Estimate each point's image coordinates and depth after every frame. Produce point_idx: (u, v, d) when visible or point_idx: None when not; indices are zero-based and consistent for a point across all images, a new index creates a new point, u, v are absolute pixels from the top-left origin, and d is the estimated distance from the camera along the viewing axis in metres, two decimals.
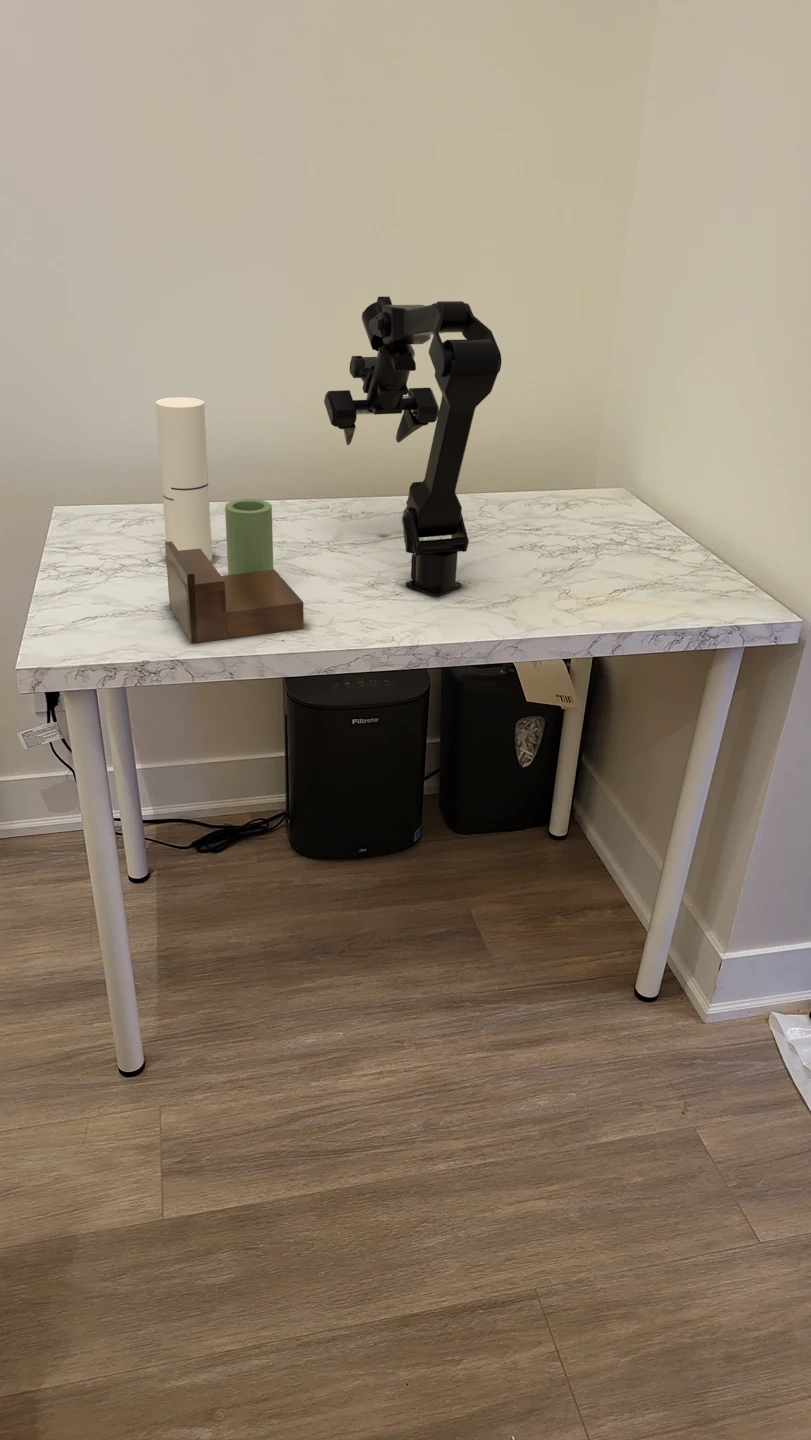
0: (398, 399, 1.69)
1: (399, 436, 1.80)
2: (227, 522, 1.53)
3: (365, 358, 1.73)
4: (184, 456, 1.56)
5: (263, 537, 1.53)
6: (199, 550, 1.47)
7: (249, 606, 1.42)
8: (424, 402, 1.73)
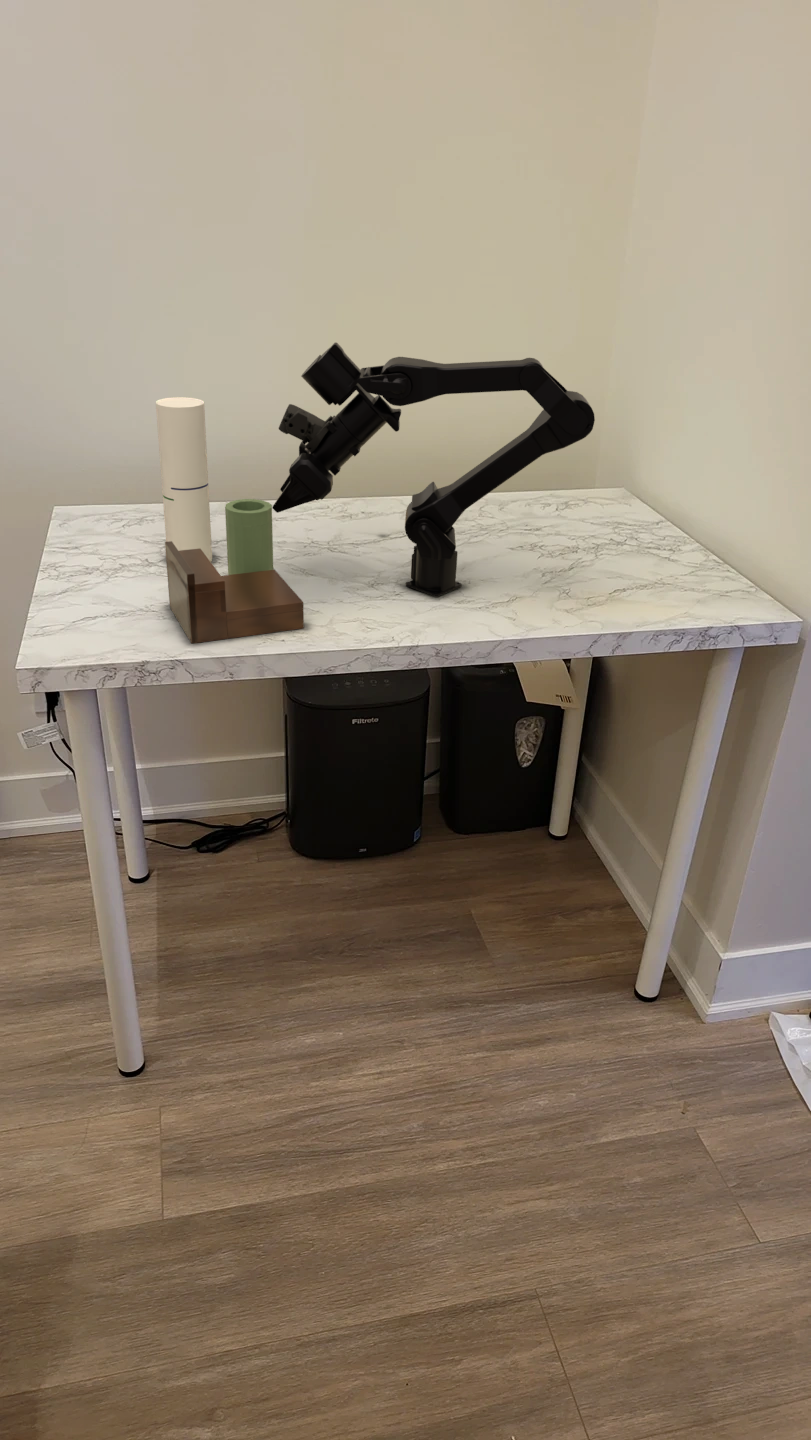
0: None
1: None
2: (227, 522, 1.53)
3: (290, 410, 1.47)
4: (184, 456, 1.56)
5: (263, 537, 1.53)
6: (199, 550, 1.47)
7: (249, 606, 1.42)
8: None
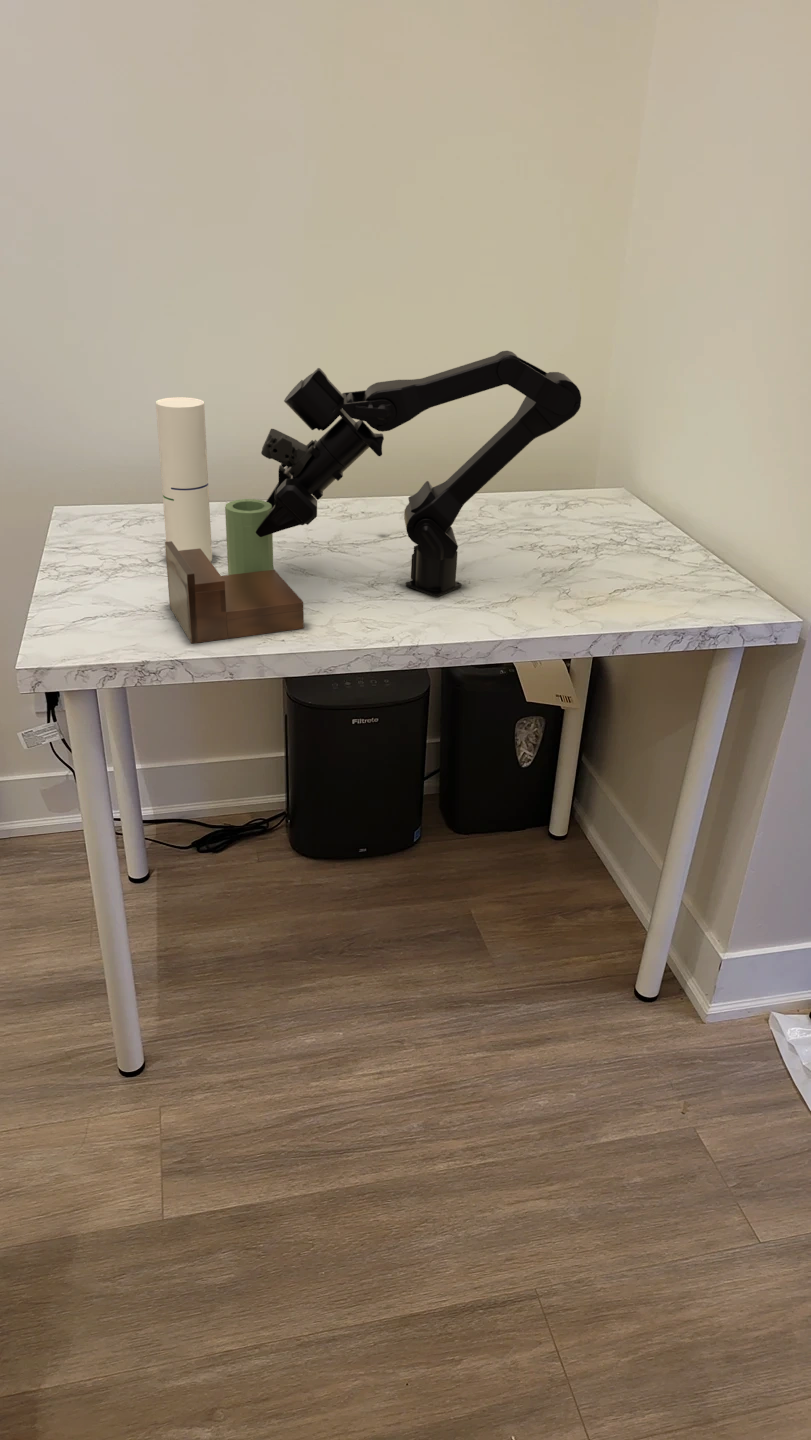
0: None
1: None
2: (227, 522, 1.53)
3: (274, 435, 1.47)
4: (184, 456, 1.56)
5: (263, 537, 1.53)
6: (199, 550, 1.47)
7: (249, 606, 1.42)
8: None
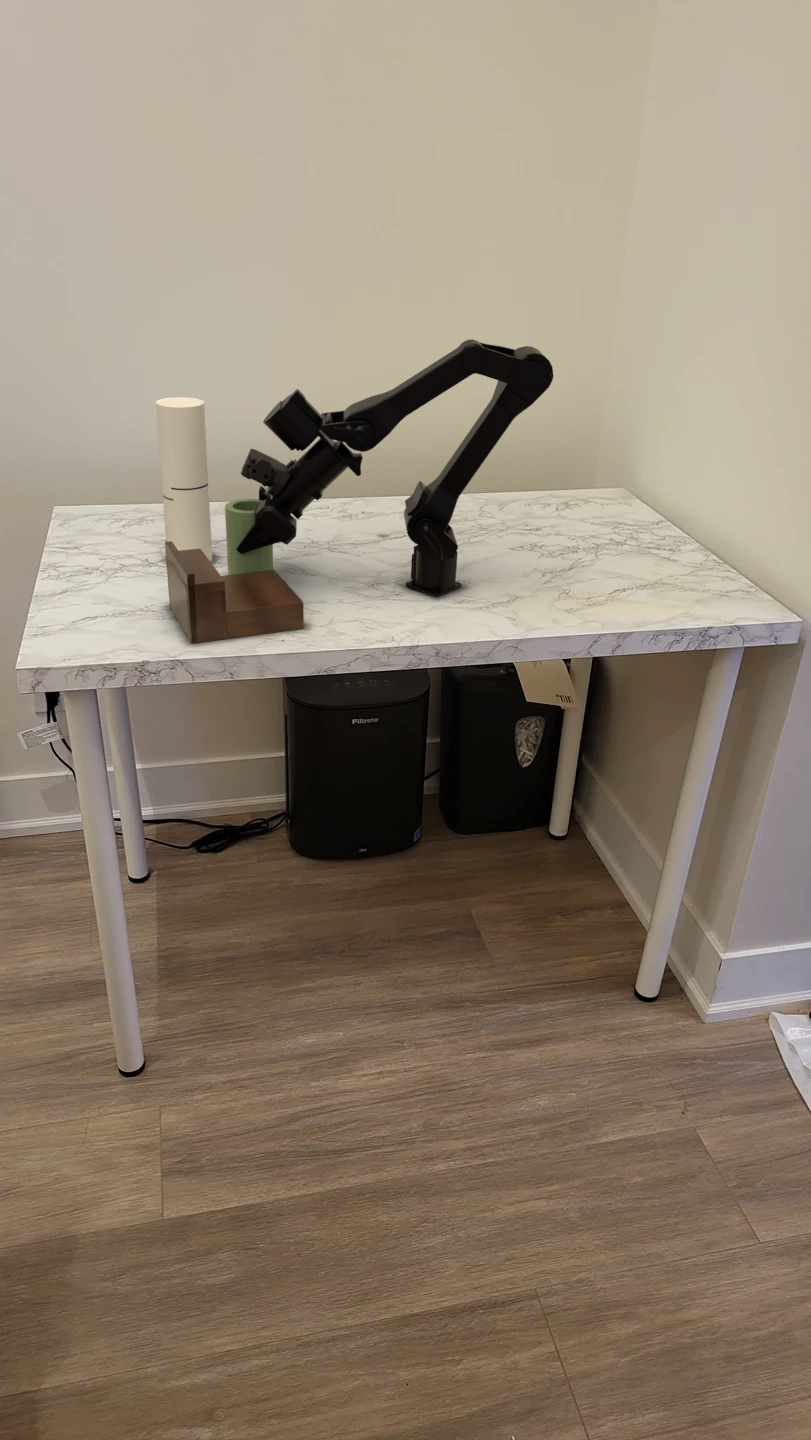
0: None
1: None
2: (227, 522, 1.53)
3: (253, 456, 1.48)
4: (184, 456, 1.56)
5: None
6: (199, 550, 1.47)
7: (249, 606, 1.42)
8: None
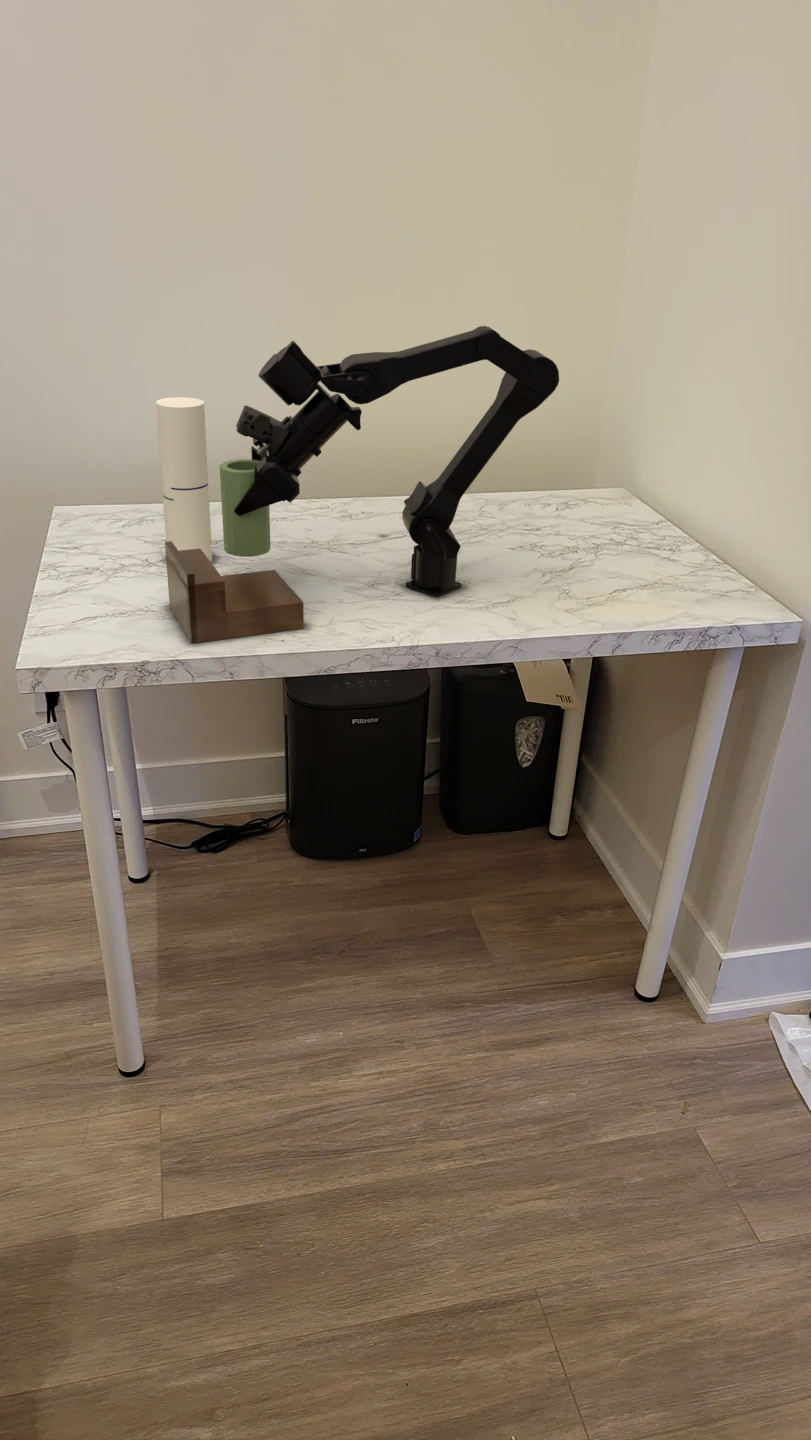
0: None
1: None
2: (222, 483, 1.47)
3: (249, 412, 1.43)
4: (184, 456, 1.56)
5: None
6: (199, 550, 1.47)
7: (249, 606, 1.42)
8: None
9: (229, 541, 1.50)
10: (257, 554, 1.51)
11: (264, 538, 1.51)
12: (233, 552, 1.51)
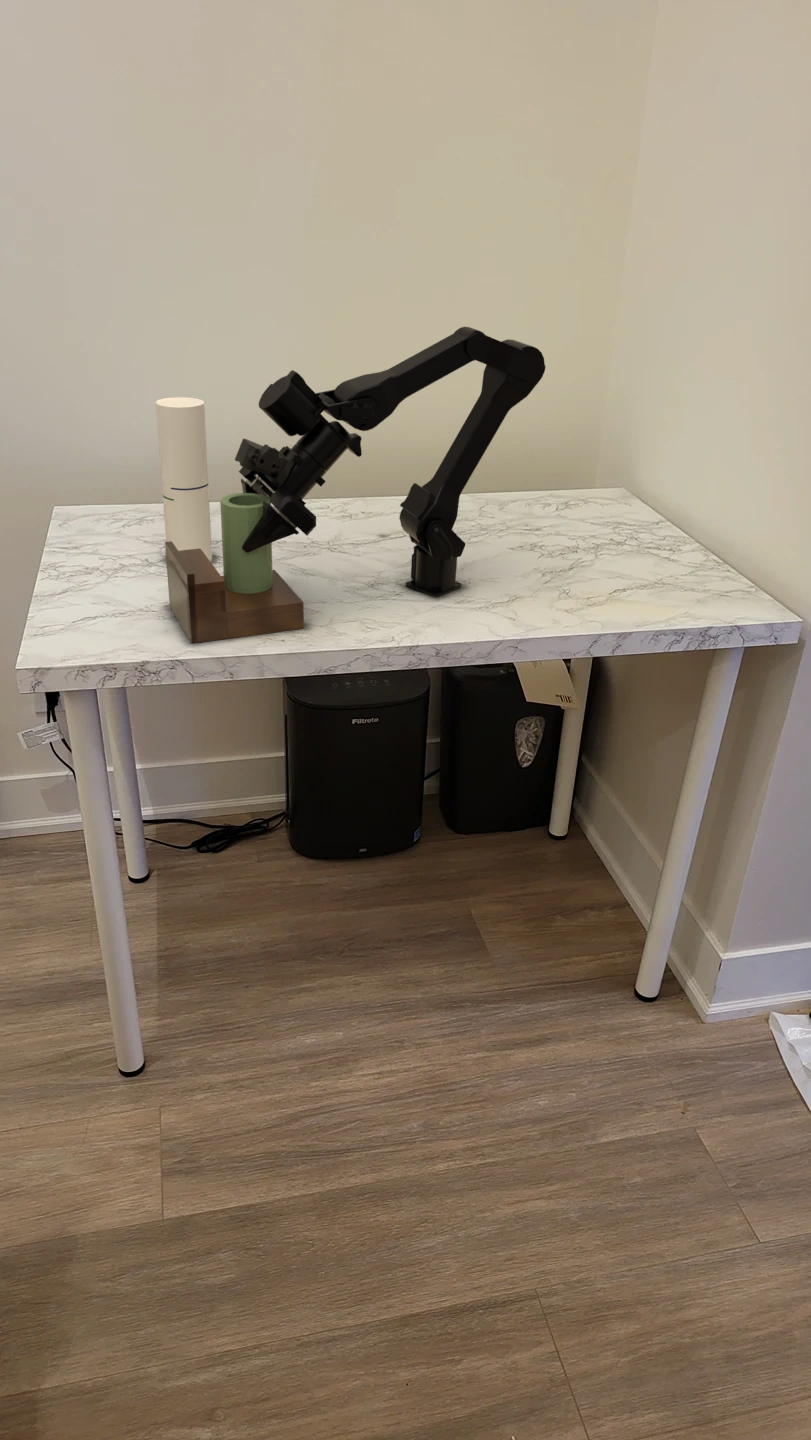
0: None
1: None
2: (227, 520, 1.41)
3: (253, 445, 1.38)
4: (184, 456, 1.56)
5: None
6: (199, 550, 1.47)
7: (249, 606, 1.42)
8: None
9: (234, 579, 1.45)
10: (264, 590, 1.47)
11: (269, 573, 1.47)
12: (239, 590, 1.45)
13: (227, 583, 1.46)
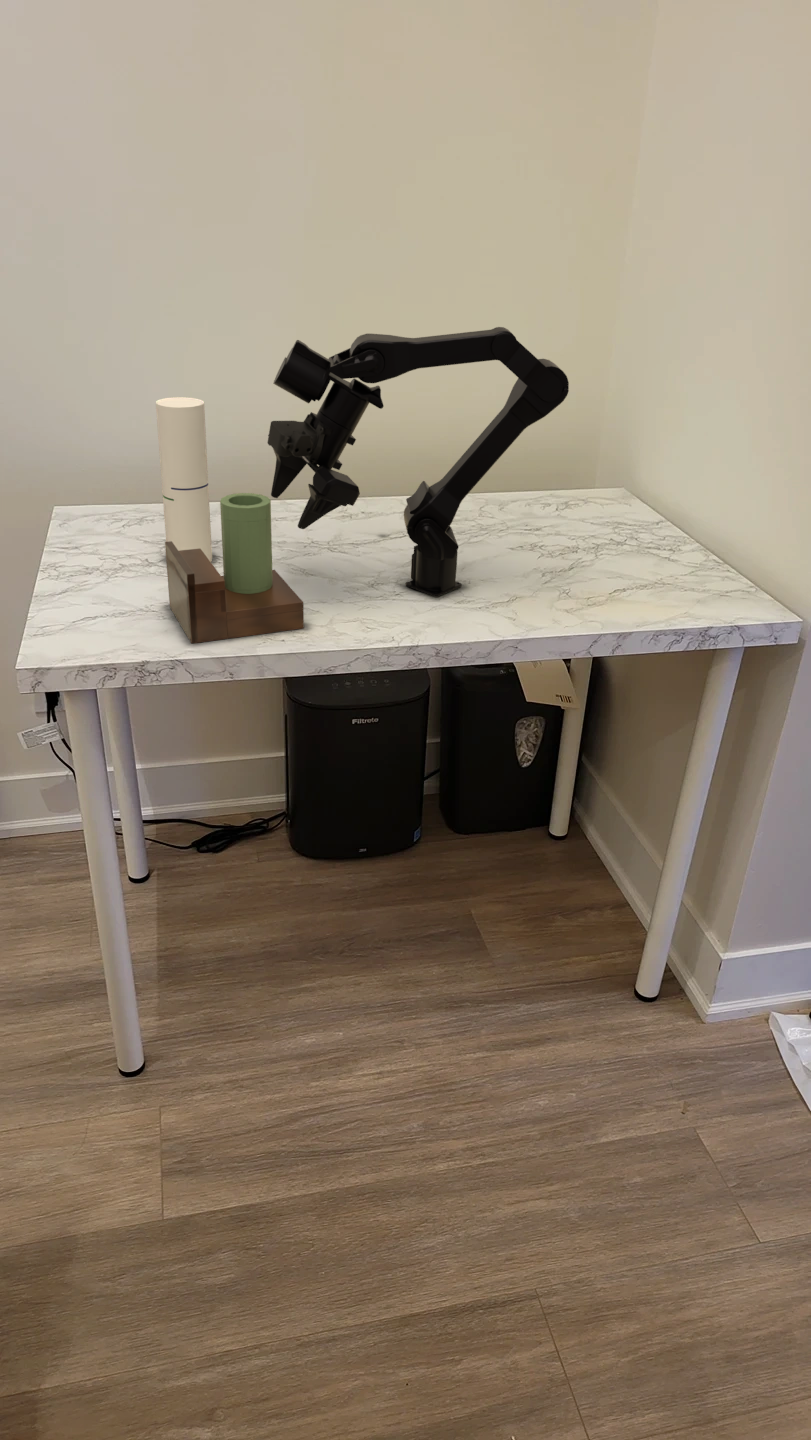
0: None
1: (282, 489, 1.56)
2: (227, 520, 1.41)
3: (284, 433, 1.43)
4: (184, 456, 1.56)
5: (267, 531, 1.43)
6: (199, 550, 1.47)
7: (249, 606, 1.42)
8: None
9: (234, 579, 1.45)
10: (264, 590, 1.47)
11: (269, 573, 1.47)
12: (239, 590, 1.45)
13: (227, 583, 1.46)
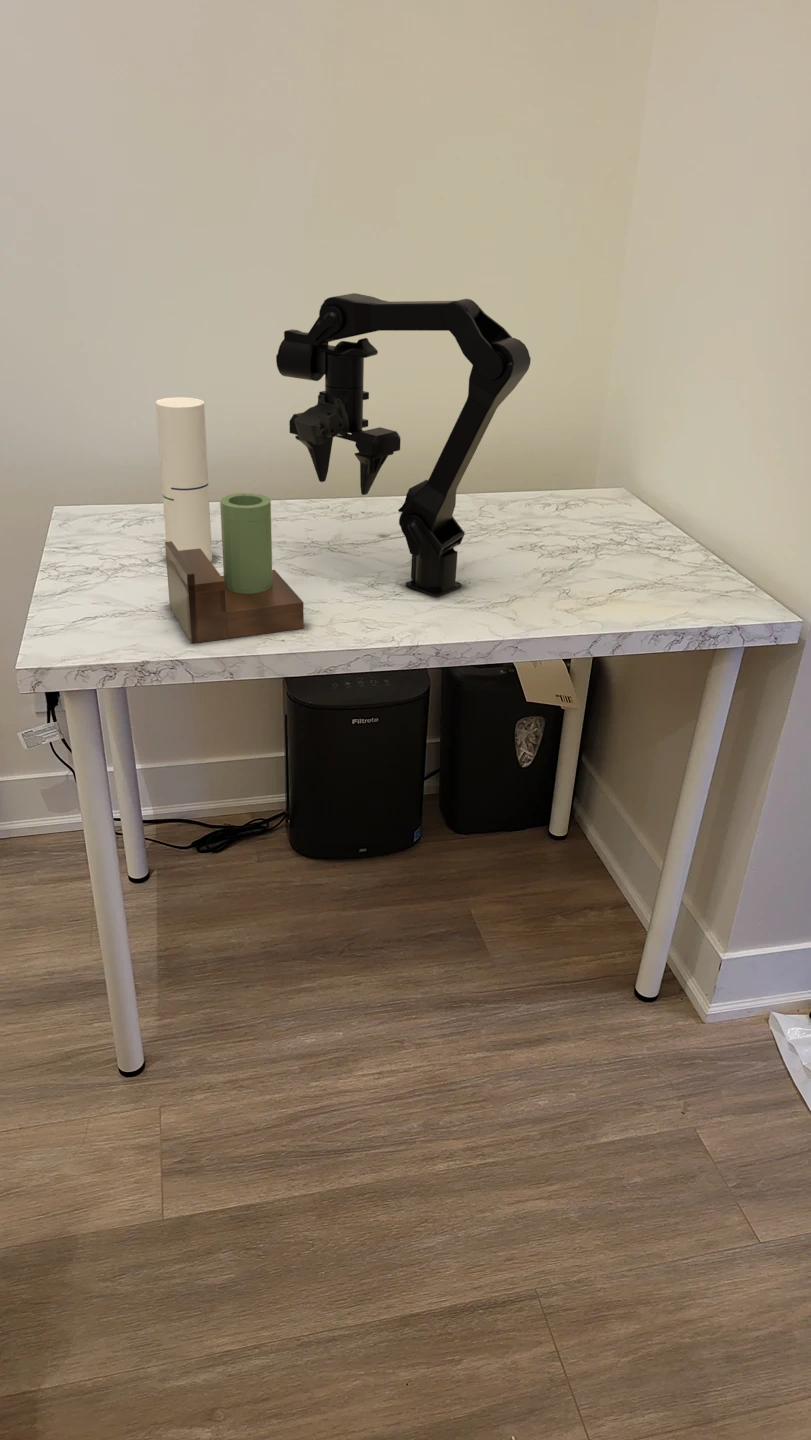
0: None
1: (325, 470, 1.64)
2: (227, 520, 1.41)
3: (312, 423, 1.50)
4: (184, 456, 1.56)
5: (267, 531, 1.43)
6: (199, 550, 1.47)
7: (249, 606, 1.42)
8: None
9: (234, 579, 1.45)
10: (264, 590, 1.47)
11: (269, 573, 1.47)
12: (239, 590, 1.45)
13: (227, 583, 1.46)
